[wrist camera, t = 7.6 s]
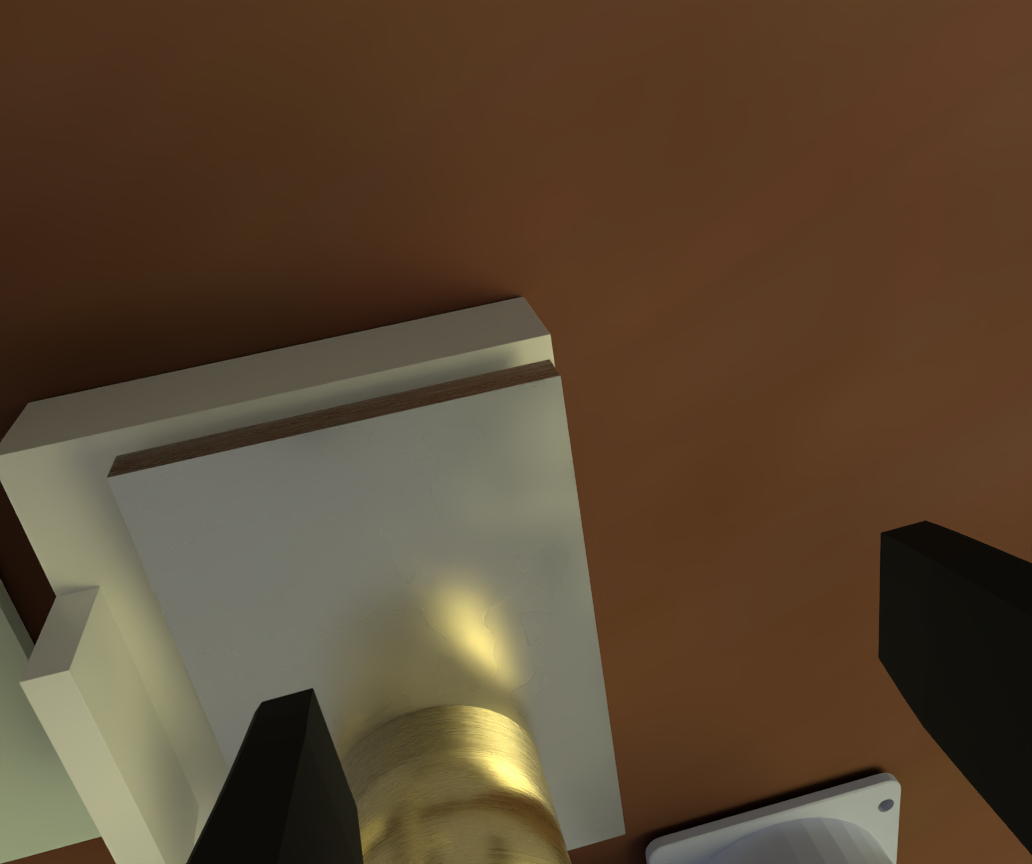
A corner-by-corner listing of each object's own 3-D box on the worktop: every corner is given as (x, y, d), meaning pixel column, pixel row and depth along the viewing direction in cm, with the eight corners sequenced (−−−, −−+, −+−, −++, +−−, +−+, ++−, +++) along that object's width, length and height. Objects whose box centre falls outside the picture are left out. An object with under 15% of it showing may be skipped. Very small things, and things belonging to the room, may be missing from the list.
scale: (589, 719, 24) (648, 872, 20) (208, 822, 23) (185, 1008, 19) (523, 296, 19) (585, 383, 14) (20, 404, 18) (-74, 533, 13)
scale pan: (608, 787, 22) (625, 834, 21) (296, 874, 21) (295, 929, 20) (542, 347, 17) (560, 375, 15) (122, 440, 16) (106, 477, 14)
